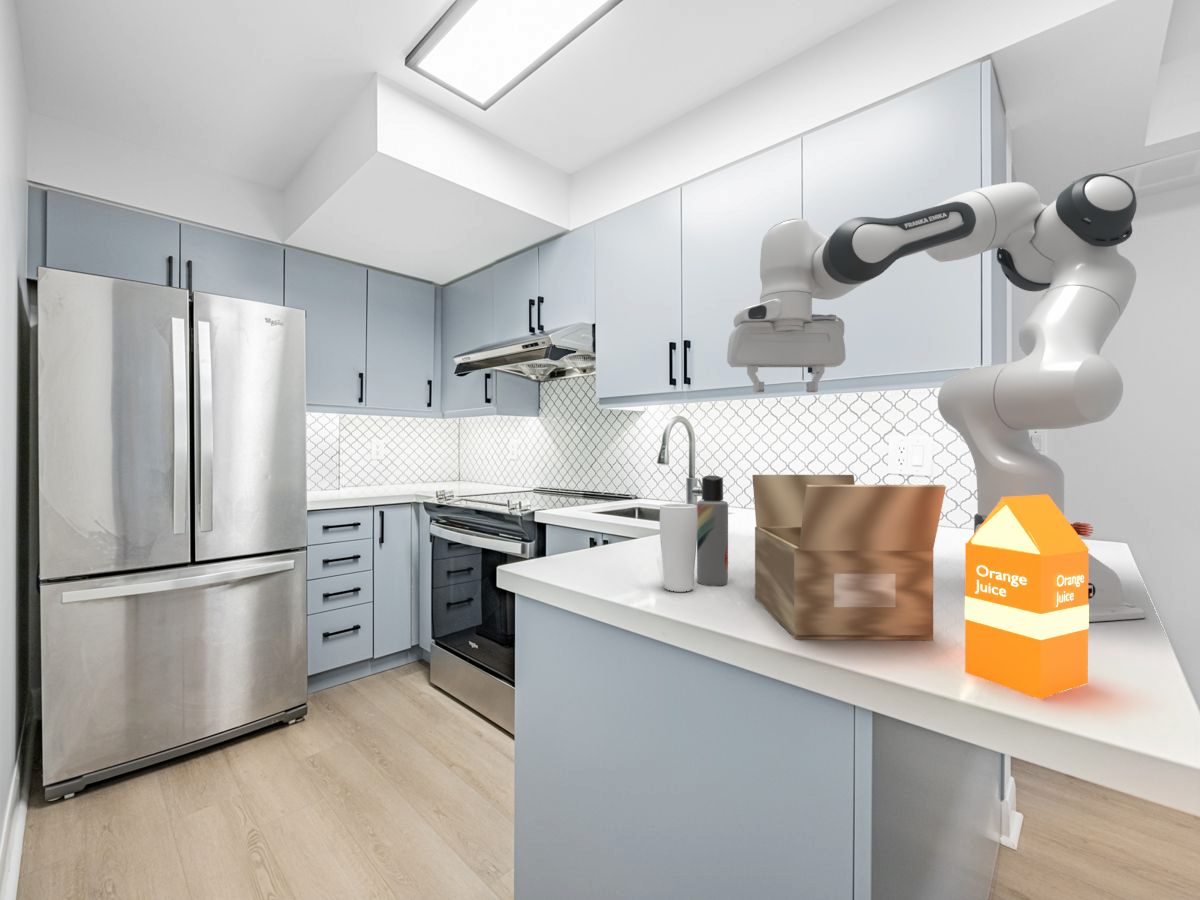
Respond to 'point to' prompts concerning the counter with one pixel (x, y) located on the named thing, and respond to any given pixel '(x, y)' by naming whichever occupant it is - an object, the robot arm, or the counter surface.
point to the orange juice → (1027, 599)
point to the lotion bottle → (712, 533)
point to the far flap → (787, 497)
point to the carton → (843, 589)
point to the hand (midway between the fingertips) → (785, 392)
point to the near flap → (871, 517)
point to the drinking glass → (678, 545)
